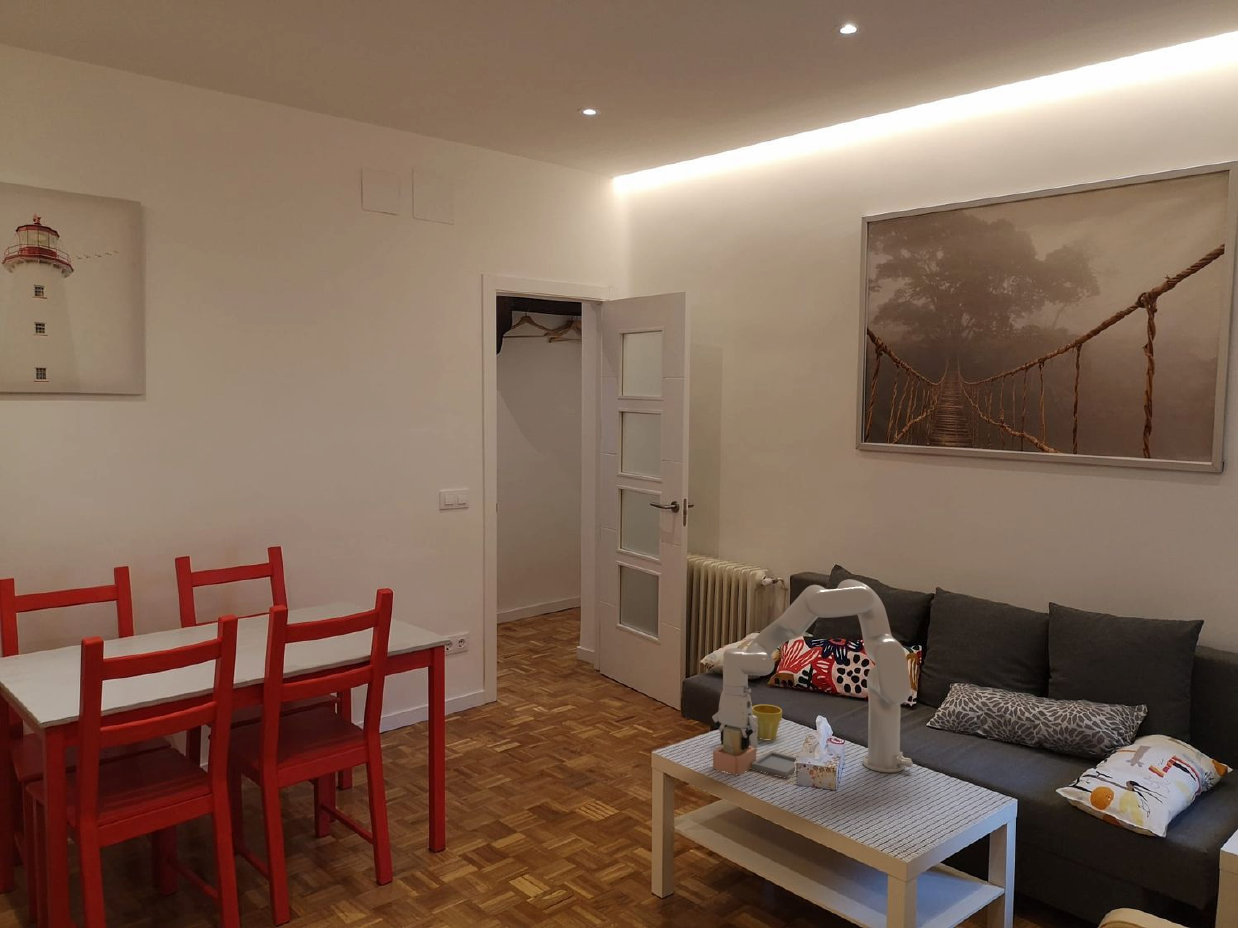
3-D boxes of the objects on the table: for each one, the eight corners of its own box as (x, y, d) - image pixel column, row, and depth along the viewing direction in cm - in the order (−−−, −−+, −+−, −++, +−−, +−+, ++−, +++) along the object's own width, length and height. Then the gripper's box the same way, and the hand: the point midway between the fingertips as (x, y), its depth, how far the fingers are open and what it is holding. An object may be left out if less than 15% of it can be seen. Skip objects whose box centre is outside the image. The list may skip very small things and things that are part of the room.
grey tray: (805, 765, 275) (805, 759, 275) (786, 778, 264) (786, 772, 264) (771, 756, 282) (771, 750, 282) (751, 769, 272) (751, 762, 272)
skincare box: (722, 765, 274) (722, 727, 274) (730, 762, 277) (730, 723, 277) (738, 771, 270) (738, 732, 269) (747, 767, 273) (747, 728, 272)
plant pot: (786, 735, 302) (786, 707, 302) (774, 744, 293) (775, 715, 293) (758, 729, 307) (758, 702, 307) (746, 738, 299) (746, 710, 298)
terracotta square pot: (756, 764, 275) (757, 747, 275) (738, 776, 266) (738, 758, 266) (730, 757, 281) (730, 740, 281) (711, 768, 272) (712, 751, 272)
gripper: (766, 691, 270) (765, 748, 271) (717, 681, 281) (717, 736, 282) (754, 697, 264) (753, 756, 265) (704, 686, 275) (704, 743, 276)
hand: (734, 745), depth 273 cm, fingers closed on skincare box, 6 cm apart
